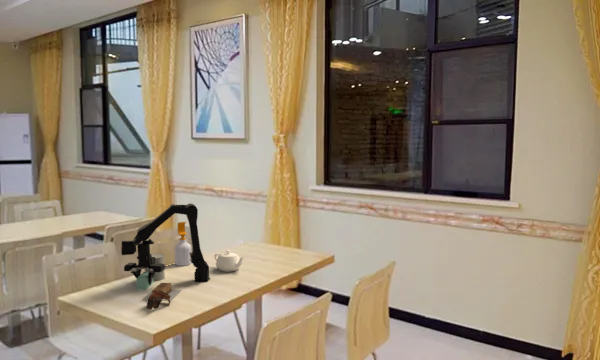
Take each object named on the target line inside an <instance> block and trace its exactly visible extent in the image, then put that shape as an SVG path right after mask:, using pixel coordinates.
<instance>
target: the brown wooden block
mask: <svg viewBox="0 0 600 360" xmlns="http://www.w3.org/2000/svg"><path fill="white" fill-rule="evenodd" d="M155 290H159V291H162V292H164V293H166V294H167V287H157V286H155V287H154V288H153V289H152V290H151V291H152V293H154V292H155ZM161 298H162V297H161ZM153 299H154V298H153Z"/></svg>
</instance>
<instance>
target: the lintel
mask: <svg viewBox="0 0 600 360" xmlns="http://www.w3.org/2000/svg"><path fill="white" fill-rule="evenodd" d="M135 279H136V291H147V290H148V289H149V288H150V287H151V286H152V285H153V284H154V281H153V279H152V283H151V285H149V277H148V272H145V271H143V272H141V275H140V276H139V277H138V278H136V277H135Z"/></svg>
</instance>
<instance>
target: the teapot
mask: <svg viewBox="0 0 600 360" xmlns="http://www.w3.org/2000/svg"><path fill="white" fill-rule="evenodd" d="M214 259H215V261H216V262H215V266H216V269H218V270H219V271H220V272H224V273H228V272H229V273H230V272H235V271H237V270H238V269H240V267H241V266H242V264H243V260H244V259H245V257H244V256H241V257H240V256H239V253H237V252H234V251H231V250H230V249H226V250H225V251H224V252H221V253H215V254H214Z"/></svg>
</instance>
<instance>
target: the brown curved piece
mask: <svg viewBox="0 0 600 360" xmlns="http://www.w3.org/2000/svg"><path fill="white" fill-rule="evenodd" d="M161 297H162V298H161ZM170 297H171V296H170V295H168V294H166V293H164V292H162V291H159V290H155V292H154V293H152V294H151V295H150V297H149V298H148V300H147V301H146V309H147V310H152V309H153V310H154V309H155V310H157V309H159V307H160V305H161V303H162V302H163V301H162V299H166V300H168V301H167V302H168V305H167V306H169V307H170V304H171V301H170ZM153 298H154V300H153Z"/></svg>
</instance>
